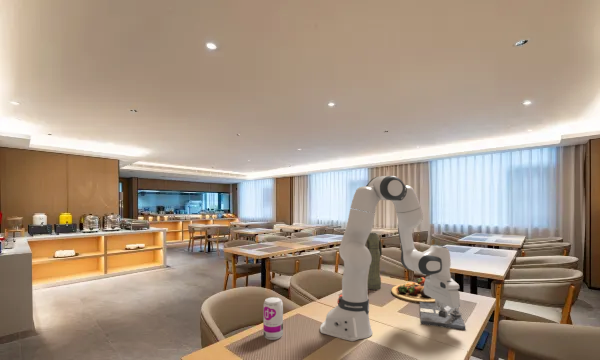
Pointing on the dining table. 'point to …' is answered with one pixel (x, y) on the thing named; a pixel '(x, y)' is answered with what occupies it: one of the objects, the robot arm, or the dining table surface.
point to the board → (432, 317)
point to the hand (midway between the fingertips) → (440, 310)
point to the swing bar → (446, 311)
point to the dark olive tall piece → (374, 261)
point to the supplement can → (273, 318)
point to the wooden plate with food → (412, 292)
